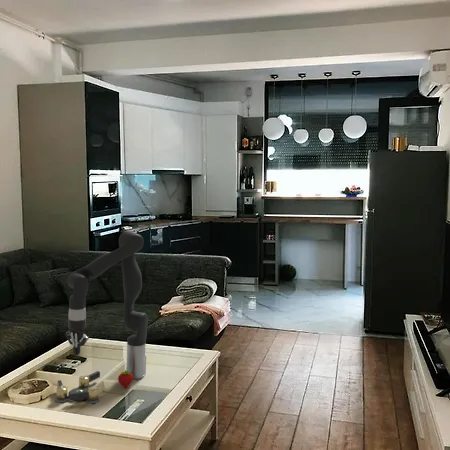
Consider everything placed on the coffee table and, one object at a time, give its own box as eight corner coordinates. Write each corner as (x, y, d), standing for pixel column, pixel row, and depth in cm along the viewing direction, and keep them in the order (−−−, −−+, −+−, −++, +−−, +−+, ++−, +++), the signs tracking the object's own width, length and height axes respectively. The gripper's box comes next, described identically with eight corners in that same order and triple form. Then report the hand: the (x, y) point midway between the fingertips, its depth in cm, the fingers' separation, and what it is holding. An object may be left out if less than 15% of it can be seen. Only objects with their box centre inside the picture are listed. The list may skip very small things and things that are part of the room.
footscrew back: (84, 389, 233) (84, 379, 233) (76, 387, 235) (77, 376, 235) (102, 380, 244) (102, 370, 243) (95, 377, 246) (95, 368, 246)
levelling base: (83, 385, 240) (83, 378, 240) (112, 394, 232) (112, 387, 232) (52, 400, 223) (52, 394, 223) (82, 411, 215) (82, 404, 215)
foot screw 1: (67, 399, 223) (68, 388, 222) (57, 400, 221) (57, 390, 220) (64, 387, 234) (64, 377, 233) (54, 389, 232) (54, 378, 232)
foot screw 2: (97, 395, 228) (97, 385, 227) (98, 400, 224) (99, 389, 223) (69, 399, 223) (69, 388, 222) (70, 404, 219) (70, 393, 218)
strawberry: (115, 387, 239) (116, 367, 238) (130, 384, 243) (130, 364, 242) (120, 392, 234) (121, 372, 233) (135, 389, 239) (135, 369, 237)
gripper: (60, 316, 224) (59, 353, 226) (82, 322, 218) (81, 360, 220) (72, 312, 230) (71, 348, 232) (94, 318, 224) (93, 354, 226)
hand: (76, 354), depth 226 cm, fingers closed
